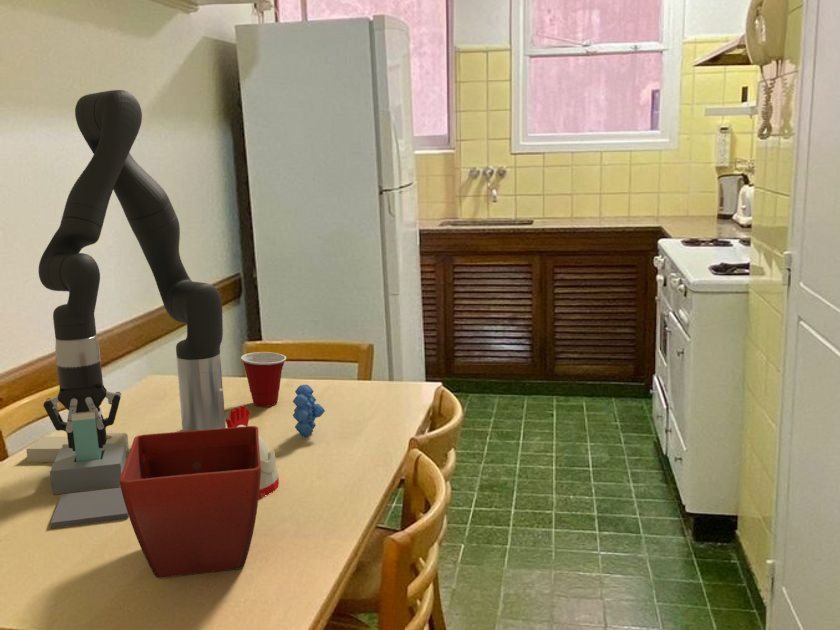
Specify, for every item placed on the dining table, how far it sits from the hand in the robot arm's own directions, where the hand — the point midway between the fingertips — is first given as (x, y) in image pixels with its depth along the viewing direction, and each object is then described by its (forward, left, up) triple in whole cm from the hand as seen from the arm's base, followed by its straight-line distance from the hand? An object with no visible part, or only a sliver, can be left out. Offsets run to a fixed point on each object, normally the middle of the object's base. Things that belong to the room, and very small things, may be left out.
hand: (88, 447), depth 156 cm
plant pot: (-20, +38, -6) cm, 44 cm away
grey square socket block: (0, 0, -6) cm, 6 cm away
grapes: (-43, -10, -6) cm, 45 cm away
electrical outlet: (+4, -14, -7) cm, 16 cm away
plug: (0, 0, -6) cm, 6 cm away
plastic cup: (-36, -38, -6) cm, 53 cm away
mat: (-2, +15, -6) cm, 16 cm away
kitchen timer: (-27, +13, -6) cm, 31 cm away
